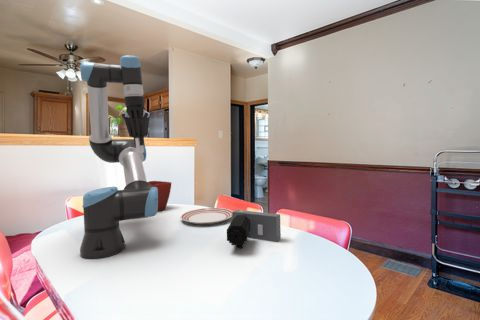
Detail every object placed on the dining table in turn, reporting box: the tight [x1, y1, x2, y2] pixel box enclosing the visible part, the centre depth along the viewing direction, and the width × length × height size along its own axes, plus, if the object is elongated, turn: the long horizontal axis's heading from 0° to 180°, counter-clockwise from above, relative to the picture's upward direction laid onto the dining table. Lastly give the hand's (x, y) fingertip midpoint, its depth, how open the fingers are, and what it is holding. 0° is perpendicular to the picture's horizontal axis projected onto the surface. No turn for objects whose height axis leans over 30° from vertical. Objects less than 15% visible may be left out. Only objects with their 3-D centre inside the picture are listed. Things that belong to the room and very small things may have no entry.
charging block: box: [231, 209, 282, 243], centre depth 114 cm, size 4×20×10 cm, turn 60°
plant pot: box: [147, 180, 172, 212], centre depth 168 cm, size 19×19×17 cm
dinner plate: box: [180, 207, 234, 226], centre depth 143 cm, size 28×27×3 cm
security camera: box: [226, 215, 250, 249], centre depth 105 cm, size 7×18×10 cm, turn 172°
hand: (140, 153), depth 116 cm, fingers closed
